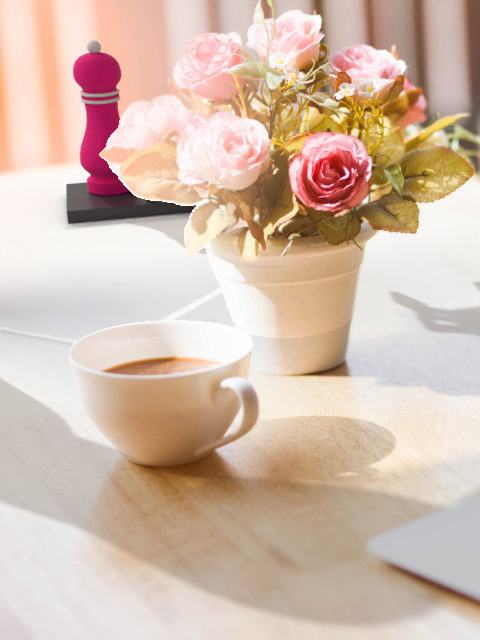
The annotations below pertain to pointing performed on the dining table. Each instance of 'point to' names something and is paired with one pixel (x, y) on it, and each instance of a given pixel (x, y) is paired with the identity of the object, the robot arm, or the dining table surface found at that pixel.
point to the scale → (113, 206)
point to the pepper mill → (99, 116)
